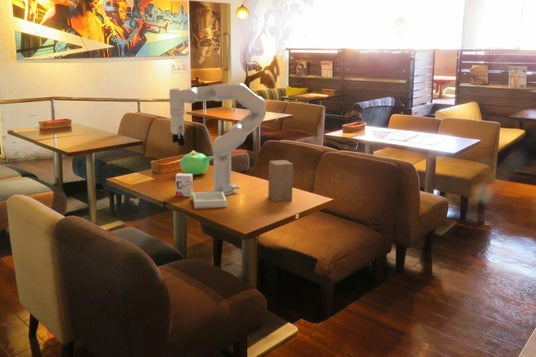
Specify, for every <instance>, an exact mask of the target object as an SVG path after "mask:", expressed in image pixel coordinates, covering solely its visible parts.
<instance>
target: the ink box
mask: <svg viewBox="0 0 536 357" xmlns="http://www.w3.org/2000/svg"><path fill="white" fill-rule="evenodd" d="M193 176H194V175H193V174H187V173H185V172H184V173H181V172H178V173H176V174H175V196H176V197H182V198H183V197H184V198H185V197H187V198H190V197H193V193H194V189H193V188H194V186H193V185H194V184H193V181H194V180H193Z"/></svg>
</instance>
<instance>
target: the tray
mask: <svg viewBox="0 0 536 357" xmlns="http://www.w3.org/2000/svg"><path fill="white" fill-rule="evenodd" d="M192 203H193V207H194V209H209V208H211V209H213V208H227V206H228V201H227V197H226V195H224V193H223V191H222V192H211V191H206V192H205V191H201V192H200V191H199V192H193V195H192Z"/></svg>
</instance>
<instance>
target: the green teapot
mask: <svg viewBox="0 0 536 357" xmlns="http://www.w3.org/2000/svg"><path fill="white" fill-rule="evenodd" d="M213 159H214V155H213V156H206V155H205V154H204V153H202V152H197V151H195V150H191V152H188V153H187V154H184V155H183V156H182V158H181V160H180V162H179V165H180V168H181V170H182V172H184V173H185V174H193V176H199V175H202V174H204V173H205V172H206V171H207V170H208V168H209V166H210V161H212V160H213Z"/></svg>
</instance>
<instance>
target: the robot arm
mask: <svg viewBox="0 0 536 357" xmlns="http://www.w3.org/2000/svg"><path fill="white" fill-rule="evenodd" d="M168 94H169V115H170V132H171V134H172V143H173V144H174V143H178V144H177V145H178V146H180V147H181V146H185V120H184V116H185V114H186V113H185V104H186V103H187V104H194V103H196V102H199V101H201V102H202V101H215V102H224V101H235V100H236V101H237V102H238V103H239V104H241V105H242V106H243V107H244V108H246V109H247V110H248V111H249V112H248V113H247V114H246V115H245V116H244V117H243V118H241V119H240V120H239V121H237V122H236V123H235V124H233V125H232V126H231V127H230V128H229V130H227V131H226V132H225V133H224V134H223V135H218V136H217V137H216V138H215V139H214V140H213V142H212V145H211V146H212V147H211V149H212V152H213V188H212V189H210V192H222V191H223V193H224V195H225V196H229V195H232V194H234V193H235V190H240V185H237V184H232V152H233V151H234V150H236V149H237V148H238V147H239V146H241V145H242V144H243V143H244V142H245V141H246V139H247V137H248V135H250V133H252V132H253V131H255V130H256V128H257V129H258V127H259V126H260V125H261V124H262V122H264V119H265V117H266V113H267V104H266V100H265V99H264V98H263V96H260V95H257V94H256V93H254V92H253V91H252V90H251V89H249V88H248V86H247V85H246V84H245V83H243V82H233V83H223V84H213V85H205V86H194V87H190V88H186V89H183V88H175V87H174V88H170V89H169V92H168Z"/></svg>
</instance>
